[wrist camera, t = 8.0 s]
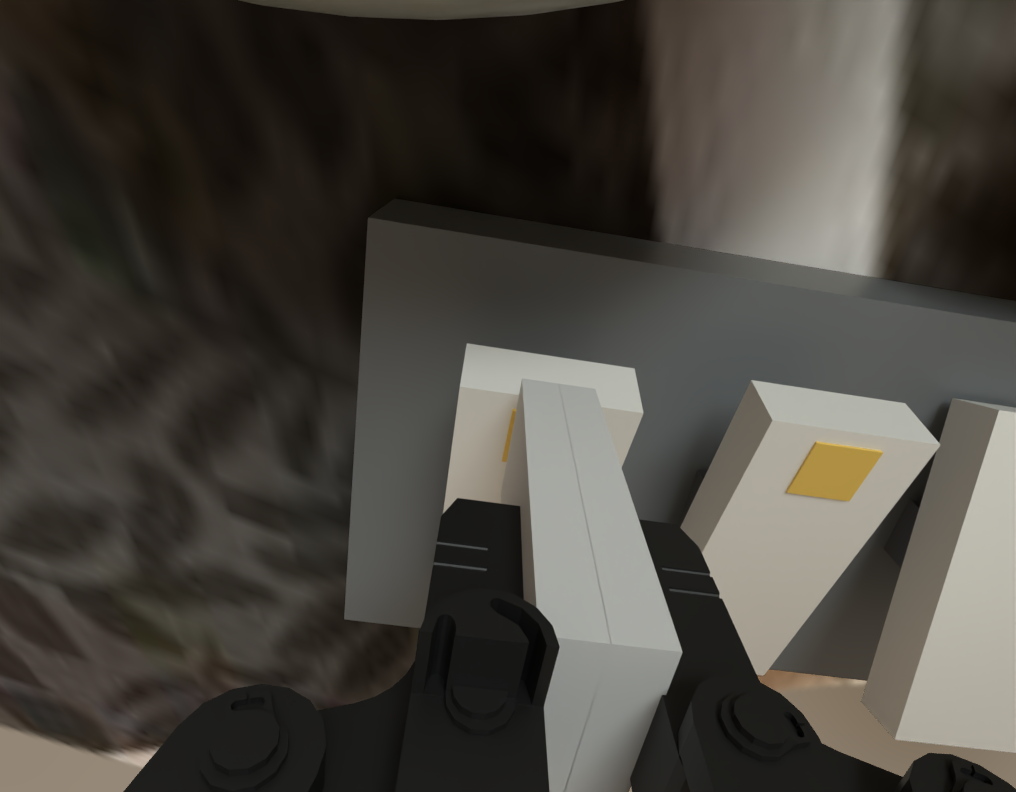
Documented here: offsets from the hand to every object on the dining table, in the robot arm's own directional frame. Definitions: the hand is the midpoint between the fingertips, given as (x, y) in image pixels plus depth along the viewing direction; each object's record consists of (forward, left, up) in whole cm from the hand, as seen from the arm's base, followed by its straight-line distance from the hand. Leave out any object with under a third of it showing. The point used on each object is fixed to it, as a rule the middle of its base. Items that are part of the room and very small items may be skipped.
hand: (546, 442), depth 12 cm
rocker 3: (+4, +14, -3) cm, 15 cm away
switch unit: (+4, +7, -9) cm, 12 cm away
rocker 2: (+4, +7, -3) cm, 9 cm away
